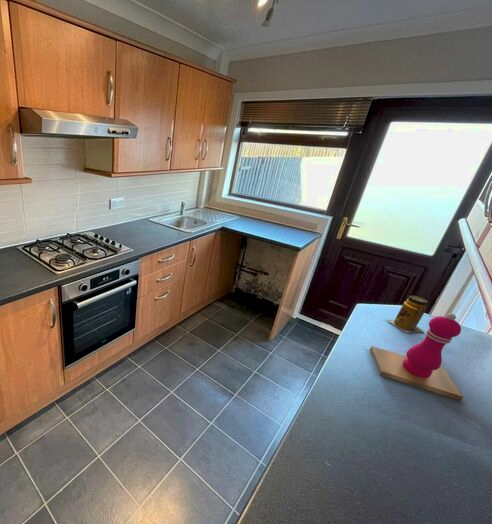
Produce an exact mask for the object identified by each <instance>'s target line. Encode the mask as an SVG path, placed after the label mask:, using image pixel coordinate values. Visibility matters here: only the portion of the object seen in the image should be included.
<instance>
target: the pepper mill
mask: <svg viewBox="0 0 492 524" xmlns="http://www.w3.org/2000/svg"><path fill="white" fill-rule="evenodd" d="M456 319H457V316H456V314H454V313H447V314H446V315H445V316H444V315H438V316H434V317H432V318H431V319H430V320H429V322H428V328H427V329H426V330H425V331H424V333H425V337H424V338H423V339H422V340H421V341H420V342H419V343H417V344H414V345H412V346H410V347H409V348H408V349H407V351H406V352H405V356H407V358H405V360H404V361H403V363H402V365H403V367H404V368H405V369H406V370H407V371H409V372H410V373H412V374H414V375H416V376H419V377H422V378H429V377H430V376H431V374H432V373H433V371H432V370H437V369H439V367H440V366H442V362H443V357H442V356H443V355H442V352H443V348H444V347H445V346H446V345H447V344H450V343H451V342H452V340H453V338H455V337H458V336H459V335H460V334H461V333H462V326H461V324H460V323H459V322H458V321H457V320H456Z"/></svg>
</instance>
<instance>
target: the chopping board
mask: <svg viewBox="0 0 492 524" xmlns="http://www.w3.org/2000/svg"><path fill="white" fill-rule="evenodd" d="M369 352H370V354H371V357H372V358H373V362H374V365H375V367H376V369H377V372H378V373H379V376H382V377H385V378H388V379H391V380H395V381H397V382H401V383H404V384H407V385H409V386H413V387H416V388H420V389H423V390H425V391H430V392H432V393H436V394H438V395H441V396H445V397H448V398H451V399H454V400H457V401H462V400H463V399H464V395H463V393H462V392H461V391H460V389H459V388H458V386H457V385H456V383H455V382H454V381H453V379H452V378H451V376H450V375H449V373H448V372H447V370H446V368H445V367H444V366H443V365H441V366H440V367H439V369H437V370H432V371H433V373H432V374H431V376H430V377H429V378H422V377H419V376H416V375H414V374H412V373H410V372H409V371H407V370H406V369H405V368H404V367H403V365H402V363H403V361H404V360H405V358H407V356H406V355H405V354H400V353H397V352H394V351H390V350H387V349H383V348H380V347H377V346H373V345H372V346H370V348H369Z"/></svg>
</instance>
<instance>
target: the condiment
mask: <svg viewBox="0 0 492 524" xmlns="http://www.w3.org/2000/svg"><path fill="white" fill-rule="evenodd" d="M428 304H429V302H428V300H427V299H425V298H423V297H420V296H417V295H409V296H408V297H407V298H406V301H404V302H403V303H402V305H401V308H400V309H399V311H398V312H397V314H396V316H395V318H394V319H391V320H390V319H389V320H388V319H387V321H388V323H391V324H392V325H393V326H395V327H397V328H398V329H400V330H401V331H403V332H404V333H407V334H410V333H423V332H425V330H424V329H422V328H420V327H419V326H418V324H419V323H420V322H421V319H422V318H423V316H424V314H425V312H426V311H427V309H426V308H427V307H428Z"/></svg>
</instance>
